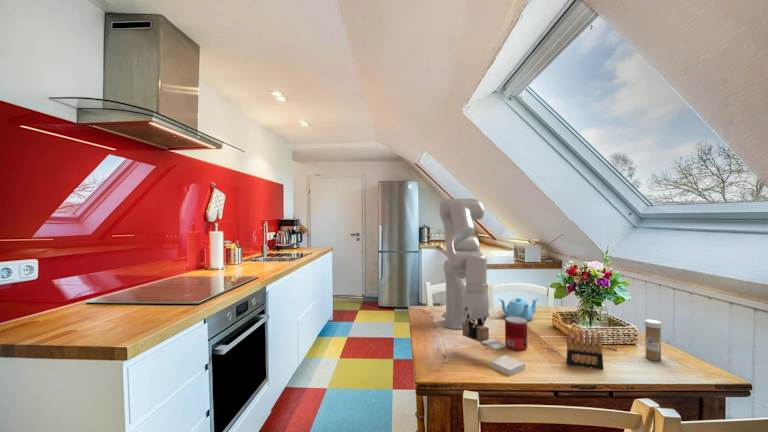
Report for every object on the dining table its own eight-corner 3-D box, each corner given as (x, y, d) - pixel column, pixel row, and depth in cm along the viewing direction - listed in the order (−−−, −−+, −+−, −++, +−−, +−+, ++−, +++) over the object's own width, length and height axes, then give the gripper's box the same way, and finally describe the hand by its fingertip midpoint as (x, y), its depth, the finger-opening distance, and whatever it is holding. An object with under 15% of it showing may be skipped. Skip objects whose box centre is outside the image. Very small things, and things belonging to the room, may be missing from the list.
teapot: (511, 312, 177) (511, 293, 177) (540, 318, 166) (540, 298, 166) (498, 318, 167) (498, 298, 167) (528, 325, 156) (528, 303, 156)
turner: (459, 336, 127) (459, 323, 127) (470, 333, 130) (470, 320, 130) (494, 349, 114) (494, 335, 114) (505, 345, 117) (505, 331, 117)
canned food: (529, 352, 125) (529, 322, 125) (507, 350, 127) (506, 321, 127) (524, 344, 133) (524, 316, 133) (504, 343, 135) (503, 315, 135)
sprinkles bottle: (643, 358, 119) (643, 320, 119) (646, 354, 122) (646, 318, 122) (660, 362, 115) (659, 323, 115) (662, 358, 118) (662, 321, 118)
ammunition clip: (602, 367, 112) (601, 331, 112) (603, 369, 111) (603, 333, 111) (566, 362, 116) (566, 328, 116) (567, 364, 115) (566, 329, 115)
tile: (489, 361, 114) (510, 369, 107) (504, 355, 118) (525, 363, 111) (489, 367, 114) (510, 377, 107) (504, 361, 118) (525, 370, 111)
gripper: (482, 283, 131) (482, 329, 132) (453, 288, 122) (453, 338, 123) (498, 286, 125) (498, 334, 125) (468, 292, 116) (468, 344, 116)
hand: (476, 336), depth 124 cm, fingers closed on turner, 3 cm apart
